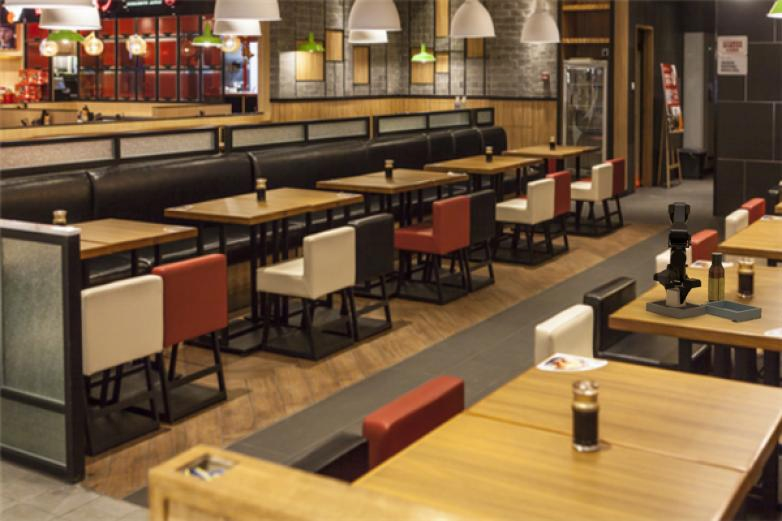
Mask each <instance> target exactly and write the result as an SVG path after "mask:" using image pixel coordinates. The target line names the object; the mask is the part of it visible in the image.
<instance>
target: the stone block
mask: <svg viewBox="0 0 782 521" xmlns="http://www.w3.org/2000/svg"><path fill="white" fill-rule="evenodd" d="M665 293H666V292H665ZM665 295H666V296H665V297H666V298H665V299H666V305H668V306H672V307H682V306H686V302H687V298H686V299H685V301H684V302H683V304H680V290H679V288H671V289H667V293H666V294H665Z"/></svg>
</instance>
